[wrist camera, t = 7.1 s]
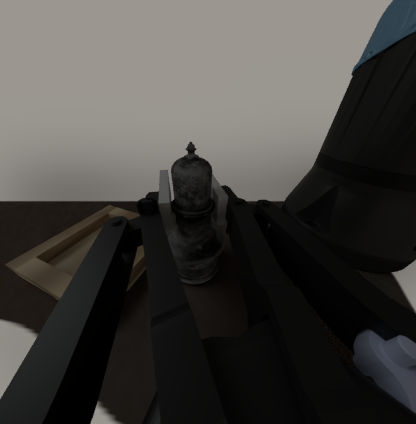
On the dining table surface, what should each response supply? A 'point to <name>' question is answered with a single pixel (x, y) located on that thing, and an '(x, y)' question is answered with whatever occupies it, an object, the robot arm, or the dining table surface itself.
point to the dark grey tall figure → (194, 220)
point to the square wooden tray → (69, 254)
